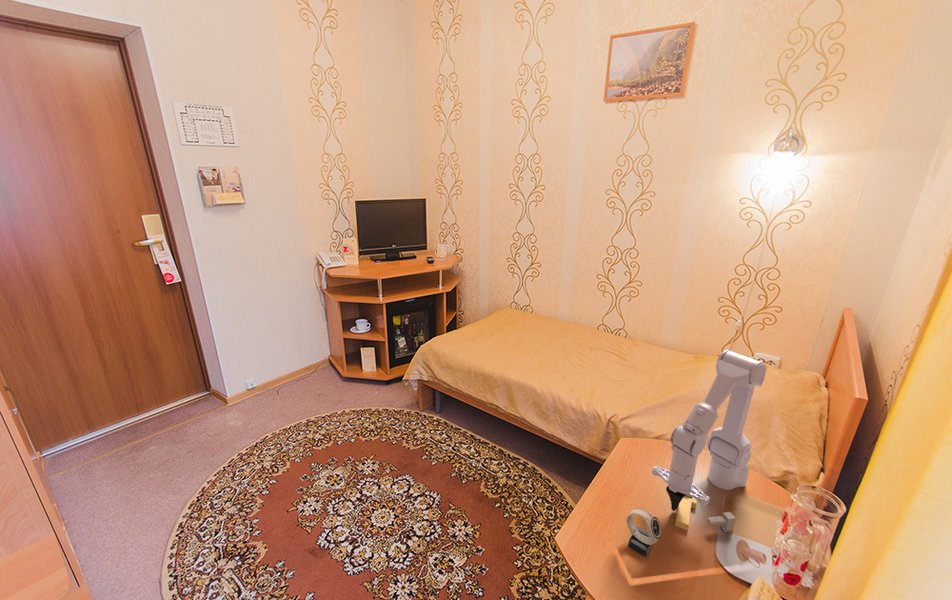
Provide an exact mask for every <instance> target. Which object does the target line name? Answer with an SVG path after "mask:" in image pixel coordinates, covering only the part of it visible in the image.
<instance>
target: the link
mask: <svg viewBox="0 0 952 600" xmlns="http://www.w3.org/2000/svg"><path fill="white" fill-rule="evenodd" d="M697 502H698V500H696V499H695V498H693V497H691V496H690V498H688V497H685V496H684V498H683V499H682V500H681V502H680V503H679V505H678V508H677V512H676V517H675V518H676V519H675V524H674V526H675V527H677V528H679V529H682V530H683V531H684V530H685V531H688V530H689V527H690V526H689V525H690V518H691V517H690V515H691V509H694V510H696V508H697Z"/></svg>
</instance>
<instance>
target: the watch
mask: <svg viewBox="0 0 952 600" xmlns="http://www.w3.org/2000/svg"><path fill="white" fill-rule="evenodd" d="M633 516H639V517H640V518H643V519H644V524H645V527H646V530H645V529H644V528H641V527H639V526H638V525H636V523H635V521H634V518H633ZM626 525H627V528H628V530H629V532H630V533H631V536H630V538H629V540H628V545H627V547H628V548H629V549H631V550H633V551H634V552H636V553H638V554H639V555H641V556H643V557H647V555H648V553H649V551H650V549H651V547H652V545H655V544H656V543H657V541H658V540H659V539H660V538H661V536H662V525H661V522H660V520H659V518H658V517H657V516H655V515H654V514H653V513H651V512H649V511H647V510H645V509H642V508H637V507H636V508H633V509H631V510H630V512H629V513H628V514H627V516H626Z"/></svg>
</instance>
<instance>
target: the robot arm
mask: <svg viewBox="0 0 952 600" xmlns="http://www.w3.org/2000/svg"><path fill="white" fill-rule="evenodd" d="M767 368H768V367H767V365H766V364H765V363H764V361H762V360H756V359H754V358H751V357H748V356H745V355H742V354H739V353H737V352H735V351H732V350H731V349H725V350H723V351H721V353H720V354H719V355H718V356H717V359H716V365H715V371H716V376H715V378H714V381H713V382H712V384H711V386H710V388H709V390H708V392H707V394H706V396H705V397H704V400H703V401H702V402H700V403H696V404H694V406H693V408H692V409H691V411H690V412H689V414H688V415H687V417H686V419H685V420H684V422H683V423H682V425H677V426H676V427H675V428H674V429H673V431H672V433H671V435H670V437H669V442H670V444H671V447H670V449H671V450H672V455H671V461H670V467H669V470H668V469H665V468H662V467H660V466H658V465H657V464H656V465H655V466H654V467H652V472H651V474H652V475H654V476H658V477H660V478H661V479H662V480H663V481H664V482H665V483H666V484H667V486H666V489H665V491H666V493H667V494H668V497H669V500H670V504H671V510H672V511H673V512H675V511H676V510H678V505H679V503H680V502H681V500H682V499H683V498H684V496H685V495H688V496H691V497H690V498H692V497H693V498H695V499H696V500H697V502H700V505H701V506H703V507H707V506H708V504H709V502H710V499H711V498H710V496H708V495H707V494H705V493H704V492H703V491H702V490H701V489H700V488H698V486H696V485H695V484H694V482H693V481H694V477H695V473H696V467H697V464H698V463H697V462H698V458H699V455H700V454H701V453H702V452H703V450H704V449H705V447H706V449H707V451H709V455H710V456H711V459H710V462H709V463H710V464H709V468H708V469H709V470H708V474H707V478H708V480H709V482H710V483H711V484H712V485H714V486H715V487H716V488H719V489H722V490H727V491H730V490H734V489H736V488H742V487H746V485H747V481H748V477H749V470H750V469H749V466H748V463H749V461H750V459H751V457H752V456H751V454H752V453H751V449H752V443H751V442H750V441H749V439H748V438H747V437H746V436H745V434H744V433H743V432H744V428H745V424H746V422H747V417H748V412H749V410H750V406H751V401H752V398H753V395H754V390H755V388H756V386H757V387H762V385H763V383H764V380H765V376H766V372H767ZM728 397H729V400H728V403H727V408H726V411H725V416H724V420H723V423H722V426H717V427H715V428H714V429H713V430H712V431H711V429H712V428H713V426H714V425H715V423H716V421H717V420H719V419H718V418H719V416H718V415H719V414H718V412H717V411H718V409H719V408H720V407H721V405H722V404H723V403H724V402H725V401H726V399H727V398H728ZM710 431H711V433H710V435H709V436H708V434H709V432H710Z"/></svg>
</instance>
